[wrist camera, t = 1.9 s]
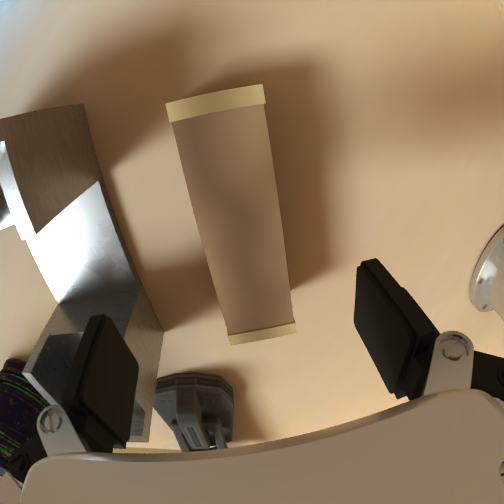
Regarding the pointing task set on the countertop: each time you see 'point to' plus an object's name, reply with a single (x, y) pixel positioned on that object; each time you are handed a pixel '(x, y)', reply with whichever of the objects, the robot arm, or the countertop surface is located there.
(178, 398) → the zipper pull
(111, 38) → the countertop surface
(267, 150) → the brown rectangular block
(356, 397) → the countertop surface
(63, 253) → the grey cradle stand
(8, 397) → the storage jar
